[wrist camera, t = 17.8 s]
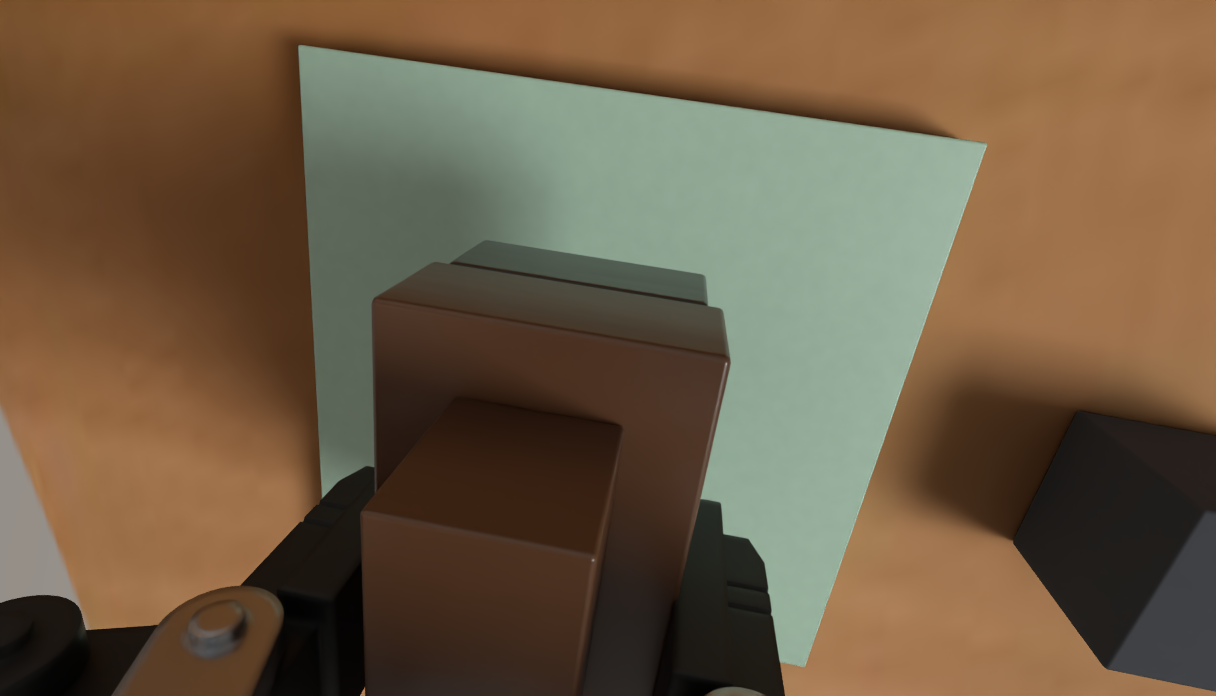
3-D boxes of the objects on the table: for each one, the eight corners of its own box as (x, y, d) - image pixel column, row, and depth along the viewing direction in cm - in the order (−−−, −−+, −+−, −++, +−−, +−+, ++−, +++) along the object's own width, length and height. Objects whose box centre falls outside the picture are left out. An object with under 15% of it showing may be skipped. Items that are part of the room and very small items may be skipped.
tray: (346, 543, 19) (324, 570, 18) (328, 49, 14) (296, 43, 13) (798, 634, 18) (805, 667, 17) (963, 140, 13) (988, 142, 12)
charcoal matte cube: (1104, 670, 13) (1310, 712, 12) (1203, 510, 11) (1441, 555, 11) (1010, 542, 16) (1168, 572, 16) (1075, 409, 15) (1251, 440, 15)
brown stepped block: (470, 236, 10) (228, 380, 5) (719, 276, 10) (751, 474, 4) (452, 648, 13) (300, 992, 8) (636, 686, 13) (597, 1068, 8)
